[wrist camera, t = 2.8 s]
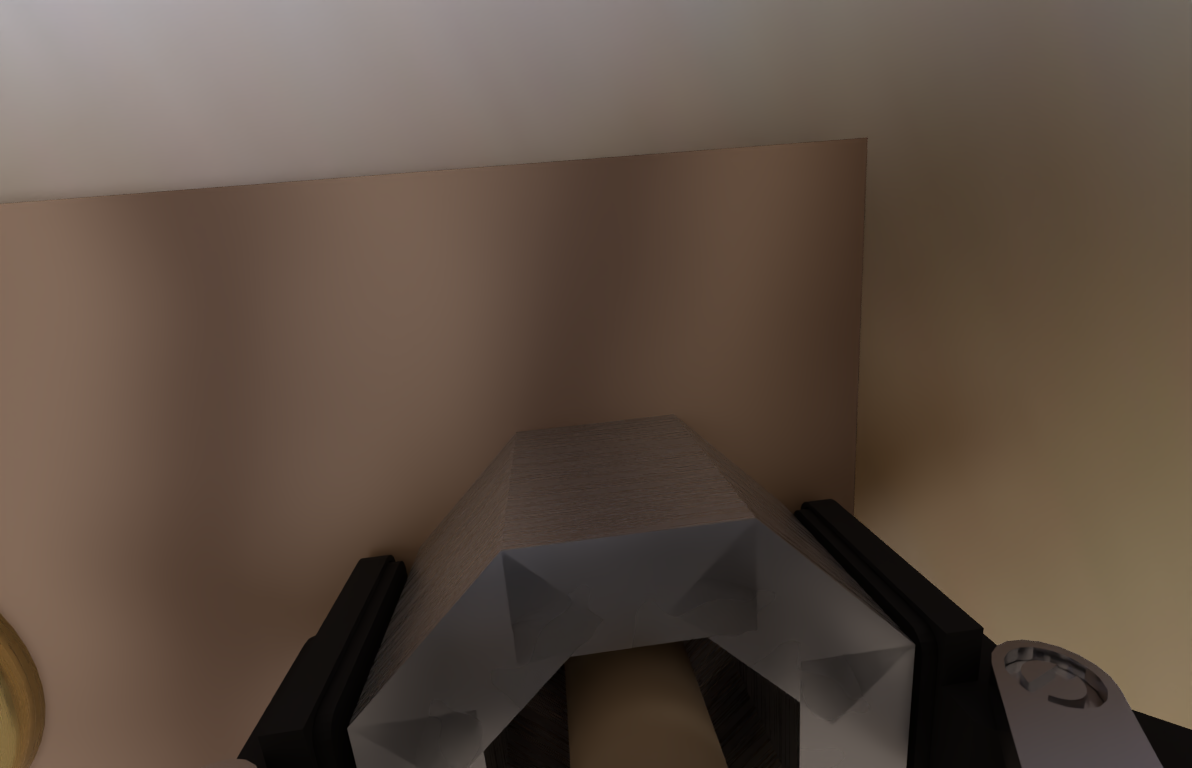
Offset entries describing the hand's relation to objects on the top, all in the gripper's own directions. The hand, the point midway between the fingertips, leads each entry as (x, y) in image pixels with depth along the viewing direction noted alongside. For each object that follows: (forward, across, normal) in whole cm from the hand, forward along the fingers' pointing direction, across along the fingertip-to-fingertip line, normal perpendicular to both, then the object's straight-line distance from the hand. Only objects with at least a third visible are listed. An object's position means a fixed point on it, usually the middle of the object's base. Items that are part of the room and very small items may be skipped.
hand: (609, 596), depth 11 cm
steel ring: (0, 0, 0) cm, 0 cm away
